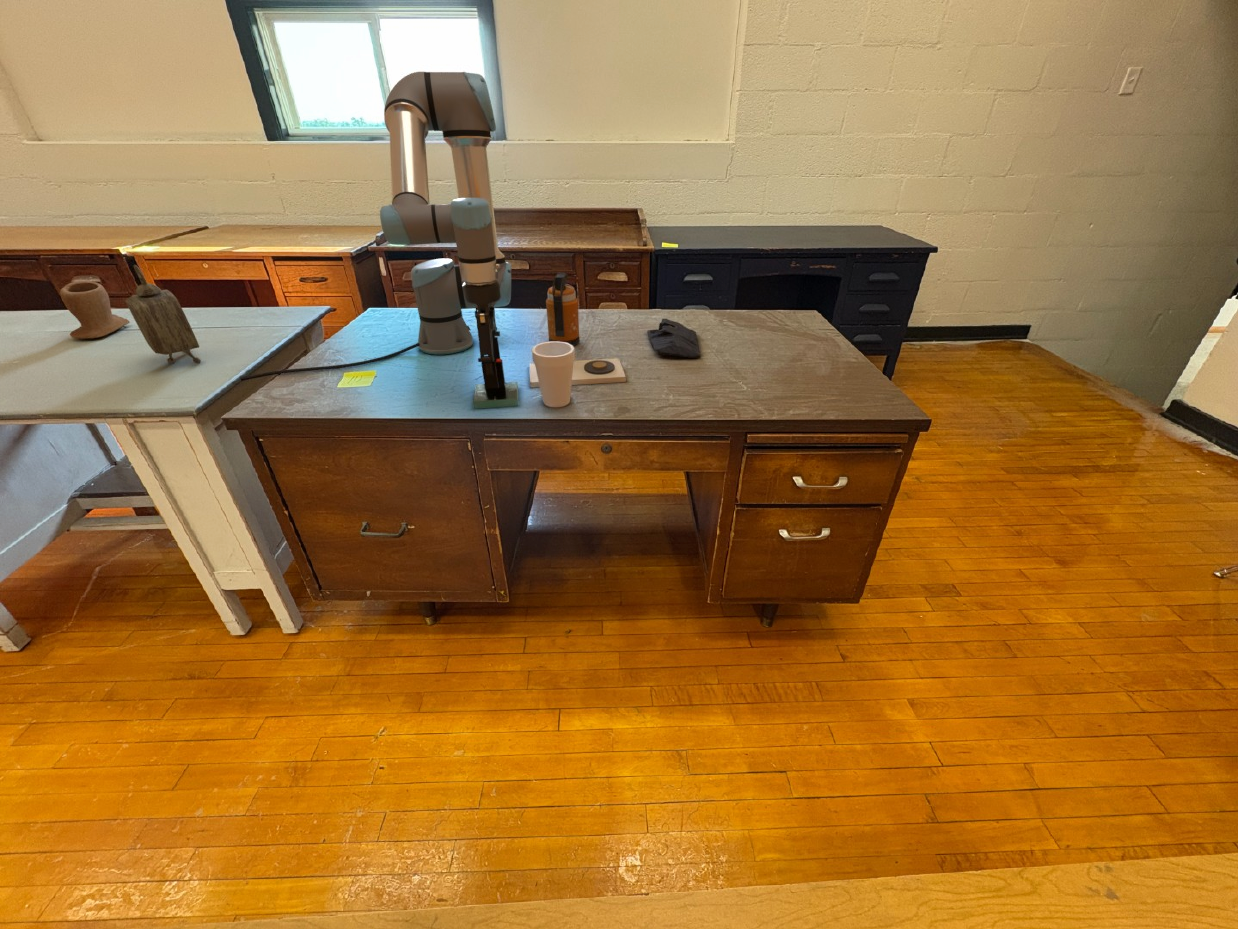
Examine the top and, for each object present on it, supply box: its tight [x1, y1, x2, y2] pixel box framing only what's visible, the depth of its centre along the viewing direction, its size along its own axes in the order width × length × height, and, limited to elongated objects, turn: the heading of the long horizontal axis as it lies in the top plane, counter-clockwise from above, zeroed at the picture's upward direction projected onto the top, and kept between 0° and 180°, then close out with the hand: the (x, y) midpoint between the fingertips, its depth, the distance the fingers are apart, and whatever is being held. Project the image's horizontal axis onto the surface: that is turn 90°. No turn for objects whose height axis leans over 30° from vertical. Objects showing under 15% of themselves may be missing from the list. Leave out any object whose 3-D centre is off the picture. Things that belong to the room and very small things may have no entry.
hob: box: [529, 357, 627, 388], centre depth 135 cm, size 24×12×3 cm, turn 99°
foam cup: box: [531, 341, 576, 408], centre depth 120 cm, size 10×9×13 cm
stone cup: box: [59, 280, 131, 339], centre depth 155 cm, size 15×12×15 cm
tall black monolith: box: [480, 358, 506, 393], centre depth 121 cm, size 5×2×8 cm, turn 99°
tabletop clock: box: [125, 264, 202, 364], centre depth 135 cm, size 14×9×25 cm, turn 47°
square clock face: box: [472, 381, 519, 410], centre depth 124 cm, size 10×9×2 cm
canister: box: [545, 272, 580, 346], centre depth 148 cm, size 9×11×20 cm
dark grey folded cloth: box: [646, 318, 701, 359], centre depth 152 cm, size 15×22×5 cm
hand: (493, 375), depth 121 cm, fingers open, 13 cm apart
